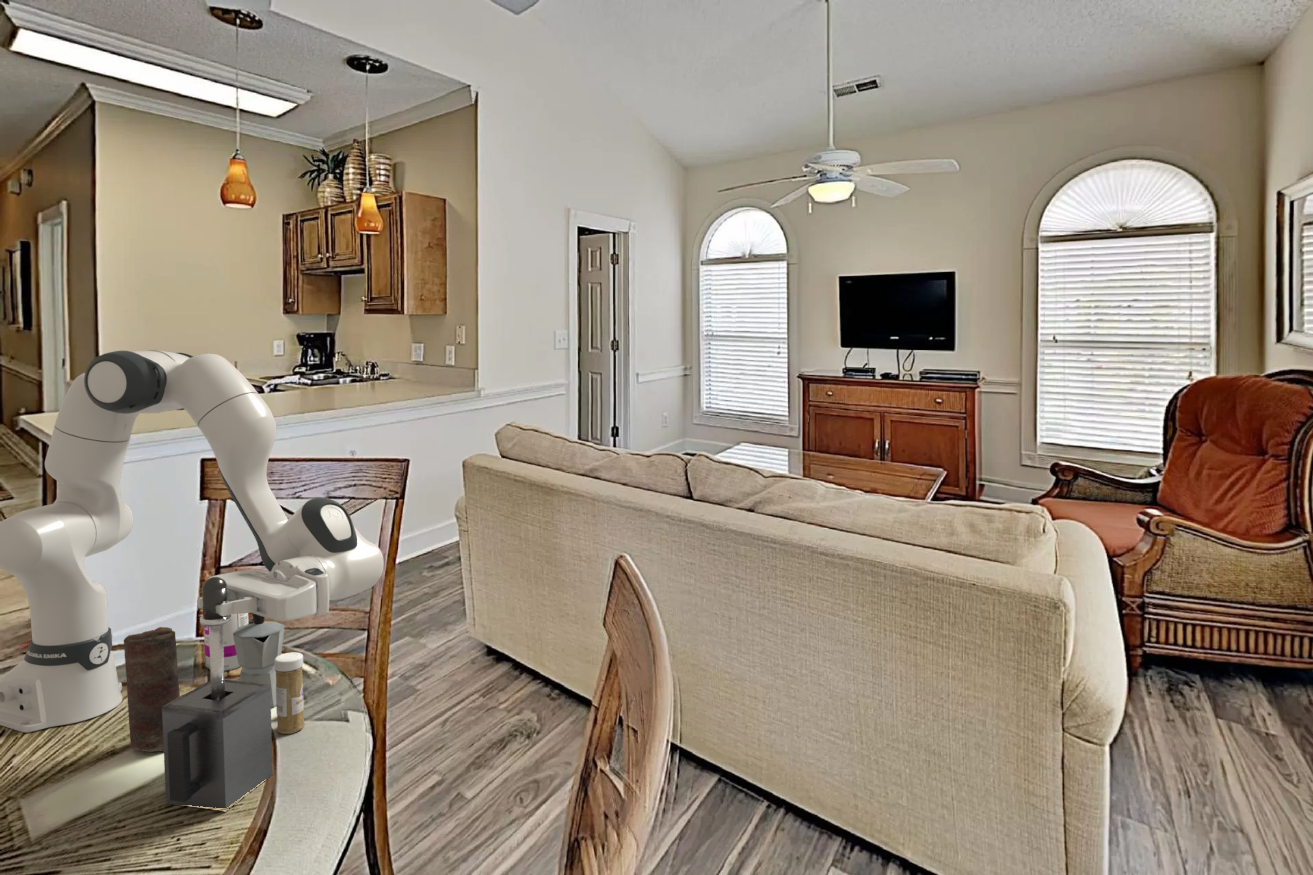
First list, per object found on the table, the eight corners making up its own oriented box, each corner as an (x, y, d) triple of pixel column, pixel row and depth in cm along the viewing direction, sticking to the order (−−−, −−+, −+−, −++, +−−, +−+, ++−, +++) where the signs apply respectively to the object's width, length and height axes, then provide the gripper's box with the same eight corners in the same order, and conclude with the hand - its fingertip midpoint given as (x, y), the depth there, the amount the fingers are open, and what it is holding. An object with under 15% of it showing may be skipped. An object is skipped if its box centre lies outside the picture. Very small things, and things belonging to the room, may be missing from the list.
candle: (125, 760, 121) (119, 642, 119) (132, 740, 127) (127, 627, 125) (180, 750, 124) (176, 635, 122) (185, 731, 131) (181, 621, 129)
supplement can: (218, 675, 154) (216, 605, 152) (197, 666, 158) (195, 597, 157) (257, 662, 161) (255, 595, 159) (236, 654, 165) (234, 588, 164)
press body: (147, 816, 107) (143, 716, 105) (216, 767, 119) (213, 678, 118) (209, 825, 105) (205, 724, 103) (272, 775, 118) (270, 684, 116)
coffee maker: (291, 709, 140) (289, 616, 138) (238, 720, 135) (235, 624, 133) (280, 680, 152) (278, 595, 151) (230, 690, 147) (228, 602, 146)
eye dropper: (176, 727, 110) (171, 582, 107) (215, 704, 117) (211, 568, 115) (222, 732, 108) (217, 586, 106) (258, 709, 116) (254, 572, 114)
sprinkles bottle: (306, 730, 132) (304, 658, 131) (277, 737, 130) (276, 663, 128) (302, 720, 136) (300, 649, 135) (274, 726, 133) (272, 654, 132)
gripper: (256, 556, 127) (170, 575, 115) (334, 576, 117) (249, 598, 105) (257, 592, 128) (171, 615, 116) (335, 615, 117) (250, 641, 105)
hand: (209, 607), depth 110 cm, fingers closed on eye dropper, 3 cm apart
